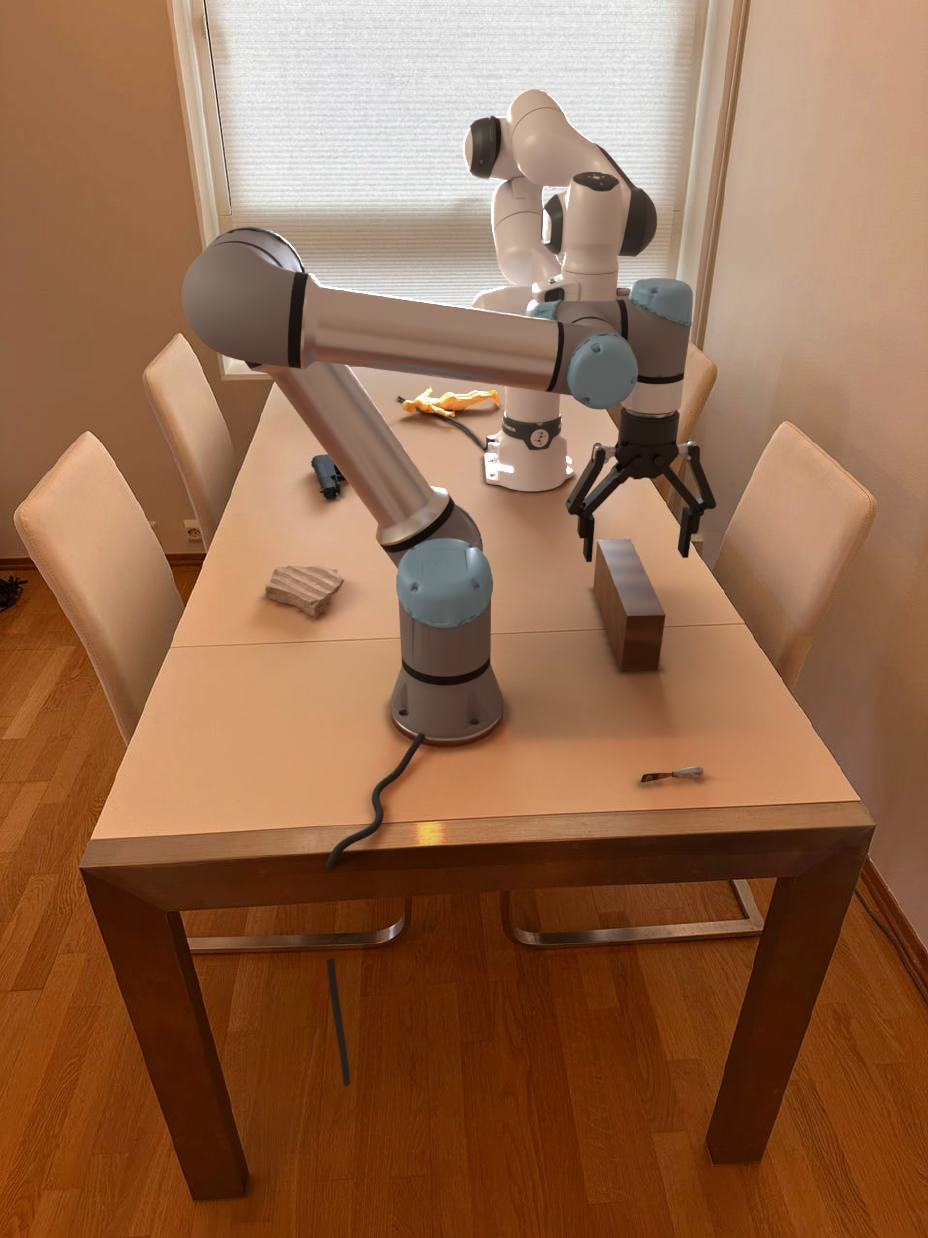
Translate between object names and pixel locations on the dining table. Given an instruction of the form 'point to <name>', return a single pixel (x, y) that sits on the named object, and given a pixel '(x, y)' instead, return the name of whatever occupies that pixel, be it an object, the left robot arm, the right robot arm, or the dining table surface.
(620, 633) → the bar
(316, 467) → the handgun
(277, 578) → the stone
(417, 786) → the dining table surface
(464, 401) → the human figure
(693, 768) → the putty knife
